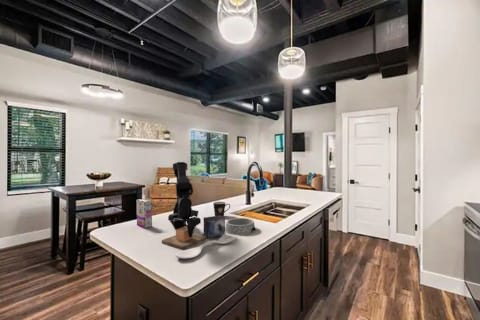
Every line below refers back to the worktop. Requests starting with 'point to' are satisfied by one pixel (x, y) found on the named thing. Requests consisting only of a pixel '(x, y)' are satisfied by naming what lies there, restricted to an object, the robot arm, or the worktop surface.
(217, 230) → the small box
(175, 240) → the base plate
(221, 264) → the worktop surface
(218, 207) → the coffee mug
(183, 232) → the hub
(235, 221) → the dog bowl
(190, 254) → the spoon
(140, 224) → the candy bar box
